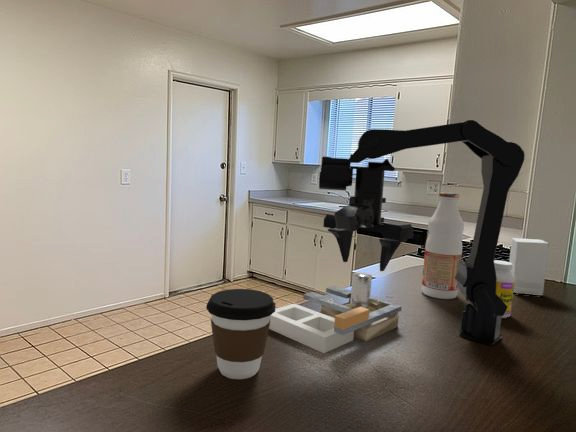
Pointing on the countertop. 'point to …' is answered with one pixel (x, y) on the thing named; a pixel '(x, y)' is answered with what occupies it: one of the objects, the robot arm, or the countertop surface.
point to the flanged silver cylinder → (361, 291)
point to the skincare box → (528, 265)
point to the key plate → (343, 308)
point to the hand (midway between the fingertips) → (363, 266)
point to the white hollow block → (308, 327)
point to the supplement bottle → (505, 284)
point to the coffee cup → (240, 330)
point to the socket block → (371, 329)
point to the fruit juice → (443, 249)
